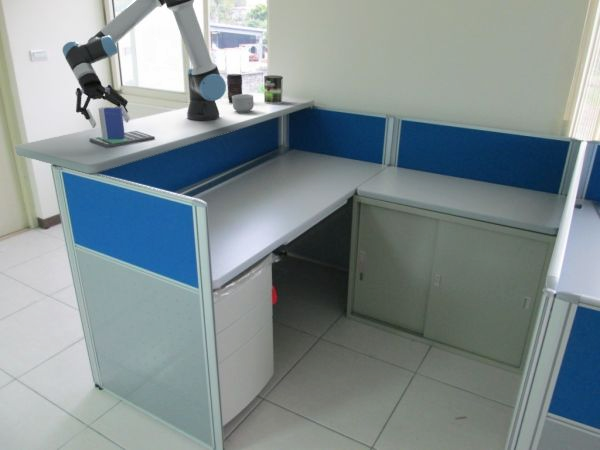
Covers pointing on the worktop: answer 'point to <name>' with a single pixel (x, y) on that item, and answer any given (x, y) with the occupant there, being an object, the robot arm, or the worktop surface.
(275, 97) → the coffee can
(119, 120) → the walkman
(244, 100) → the teacup
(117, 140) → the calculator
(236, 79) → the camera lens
